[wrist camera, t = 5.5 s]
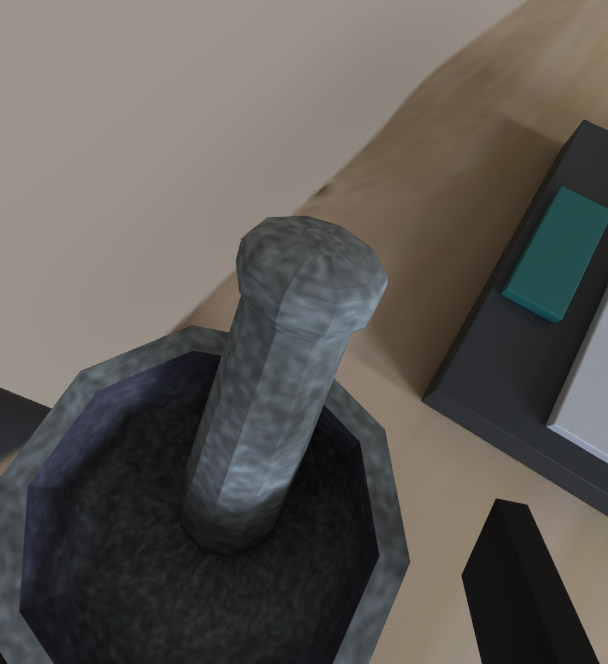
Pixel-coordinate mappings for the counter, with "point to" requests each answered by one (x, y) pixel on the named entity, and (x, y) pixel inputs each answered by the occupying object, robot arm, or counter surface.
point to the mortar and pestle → (214, 485)
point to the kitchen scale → (544, 332)
